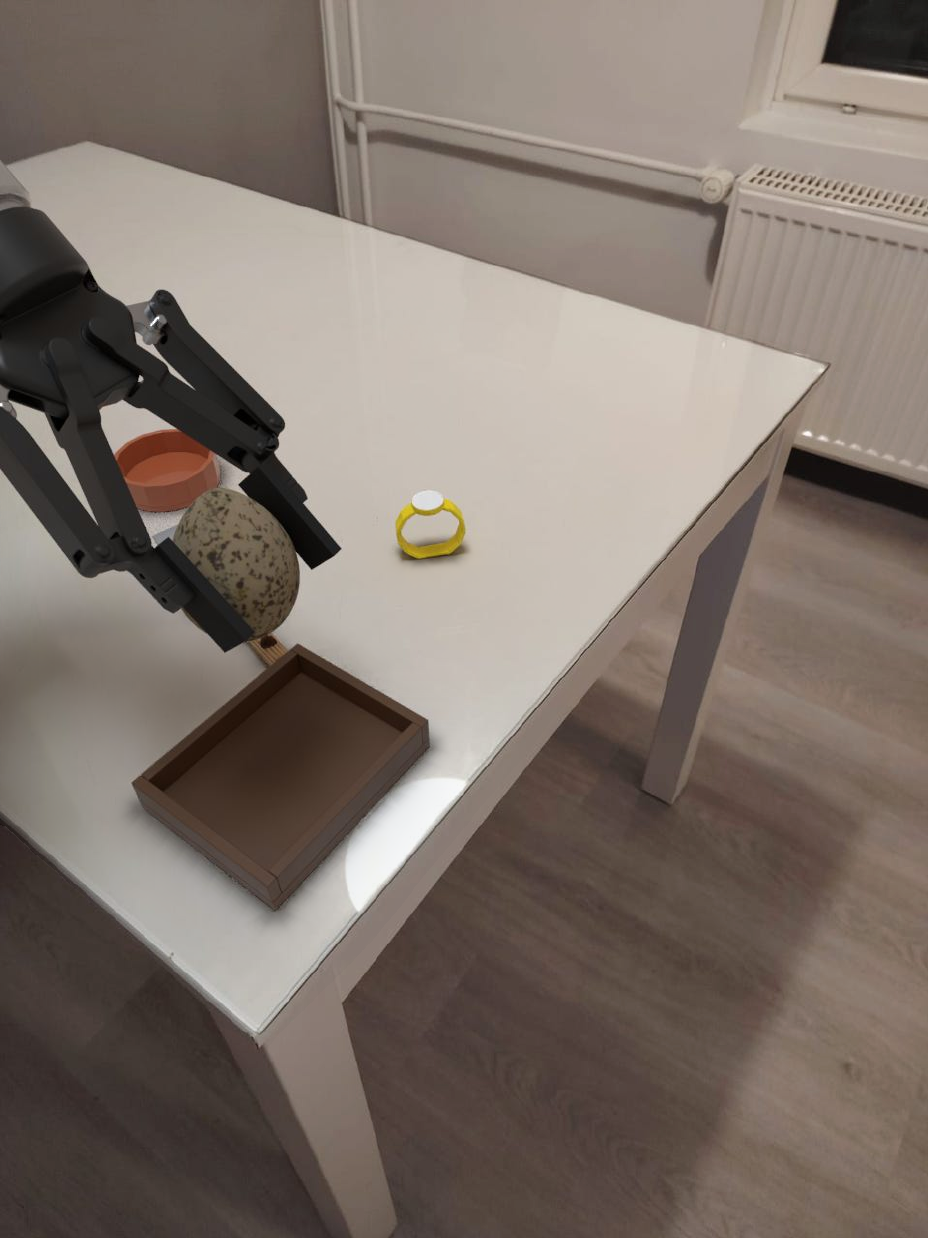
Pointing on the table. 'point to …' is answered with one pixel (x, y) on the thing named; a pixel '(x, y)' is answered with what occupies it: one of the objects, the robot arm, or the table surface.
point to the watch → (427, 506)
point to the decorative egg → (242, 556)
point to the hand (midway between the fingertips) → (284, 598)
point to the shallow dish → (167, 470)
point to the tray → (283, 771)
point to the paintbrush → (264, 646)
